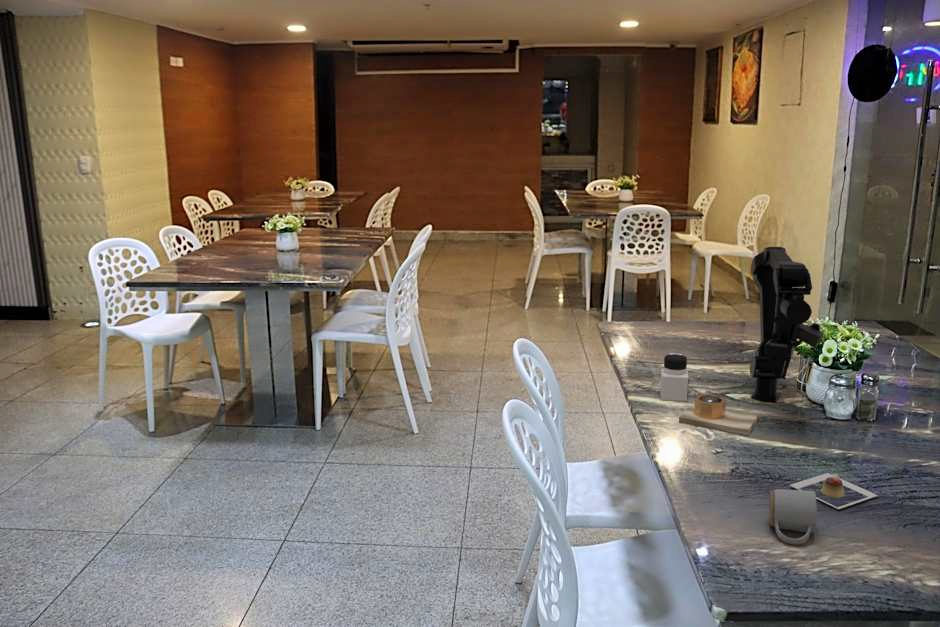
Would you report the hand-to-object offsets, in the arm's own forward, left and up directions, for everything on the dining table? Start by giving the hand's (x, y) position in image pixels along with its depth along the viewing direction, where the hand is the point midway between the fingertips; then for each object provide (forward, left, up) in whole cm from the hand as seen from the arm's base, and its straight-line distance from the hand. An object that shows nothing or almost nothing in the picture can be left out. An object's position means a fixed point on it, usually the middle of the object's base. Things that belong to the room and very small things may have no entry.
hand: (782, 373), depth 201 cm
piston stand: (+10, -13, -12) cm, 20 cm away
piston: (+10, -15, -10) cm, 21 cm away
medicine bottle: (-2, -28, -12) cm, 31 cm away
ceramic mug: (+58, +14, -12) cm, 61 cm away
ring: (+10, -15, -10) cm, 21 cm away
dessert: (+38, +18, -13) cm, 44 cm away
